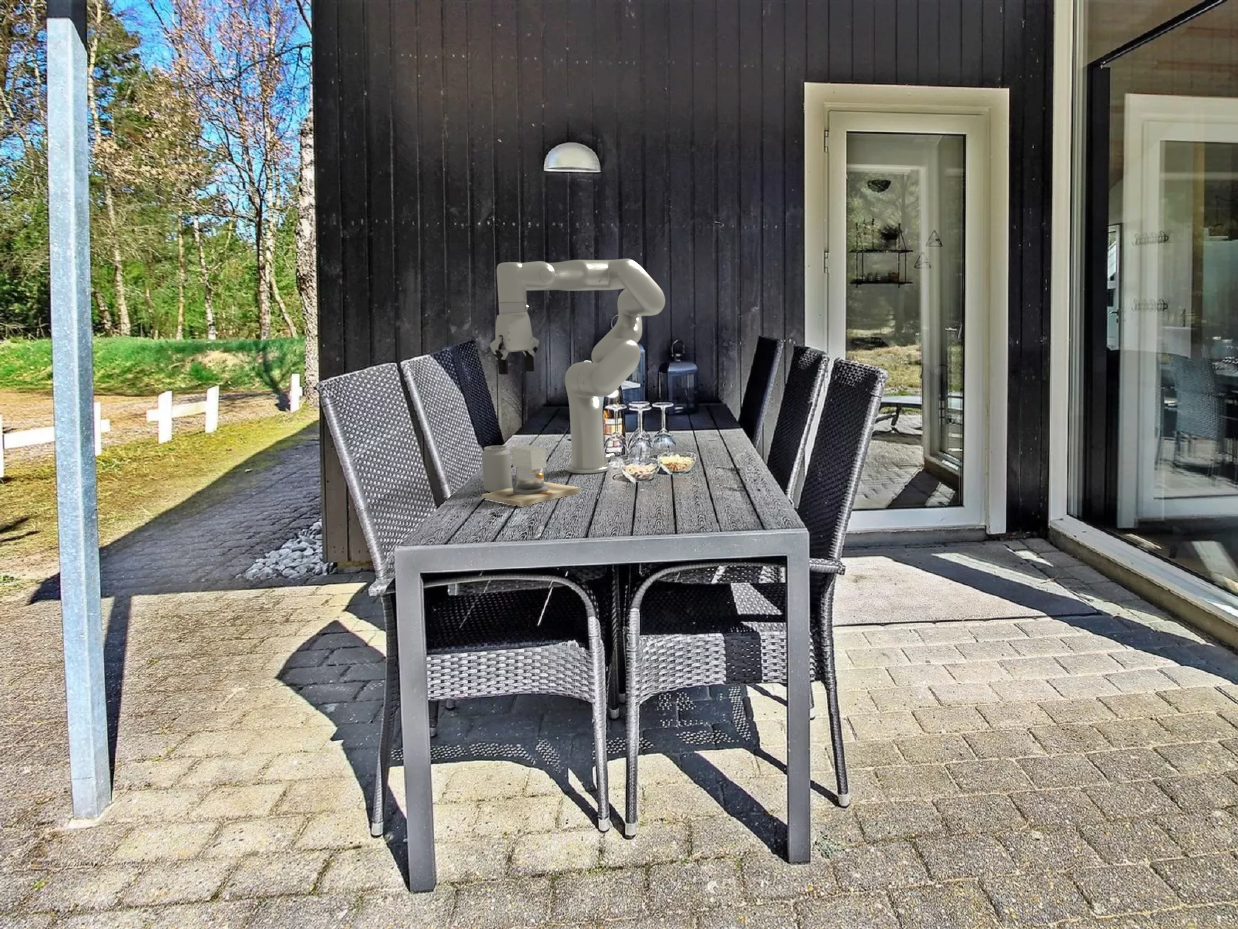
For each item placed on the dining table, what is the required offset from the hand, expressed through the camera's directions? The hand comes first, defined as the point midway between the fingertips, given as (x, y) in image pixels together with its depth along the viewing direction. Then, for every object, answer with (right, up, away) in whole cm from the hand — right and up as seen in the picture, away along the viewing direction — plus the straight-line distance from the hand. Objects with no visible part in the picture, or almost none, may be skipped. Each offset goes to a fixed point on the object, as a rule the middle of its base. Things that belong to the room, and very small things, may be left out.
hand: (516, 372), depth 238 cm
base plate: (+5, -33, -15) cm, 37 cm away
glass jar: (+5, -31, -15) cm, 35 cm away
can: (-4, -32, -6) cm, 33 cm away
